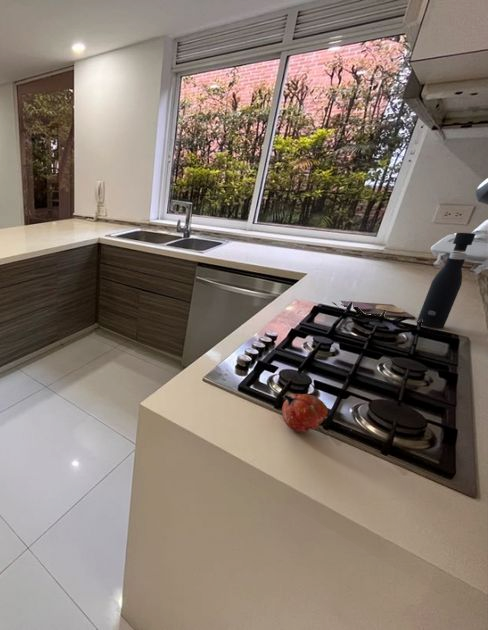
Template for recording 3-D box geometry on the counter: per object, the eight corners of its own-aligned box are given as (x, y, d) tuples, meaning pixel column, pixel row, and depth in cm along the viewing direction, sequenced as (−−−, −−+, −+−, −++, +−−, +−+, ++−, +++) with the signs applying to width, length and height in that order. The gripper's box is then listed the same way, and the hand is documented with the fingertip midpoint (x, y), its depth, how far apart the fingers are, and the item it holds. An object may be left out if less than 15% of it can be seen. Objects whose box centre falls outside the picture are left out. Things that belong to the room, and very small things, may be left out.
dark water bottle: (437, 323, 114) (474, 232, 104) (447, 329, 109) (487, 235, 98) (412, 320, 117) (446, 231, 106) (421, 326, 111) (457, 234, 101)
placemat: (391, 306, 130) (392, 303, 130) (414, 319, 118) (415, 315, 117) (331, 302, 136) (332, 299, 135) (346, 313, 123) (347, 310, 123)
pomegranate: (312, 429, 68) (273, 391, 70) (348, 416, 63) (305, 375, 65) (305, 453, 63) (264, 411, 66) (343, 441, 58) (297, 396, 60)
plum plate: (364, 304, 130) (365, 302, 130) (376, 311, 122) (377, 309, 122) (337, 302, 133) (337, 300, 133) (347, 309, 125) (348, 307, 125)
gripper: (448, 225, 113) (414, 256, 115) (537, 233, 94) (494, 269, 96) (453, 239, 115) (420, 268, 117) (541, 248, 96) (499, 283, 98)
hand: (454, 269), depth 107 cm, fingers open, 8 cm apart
